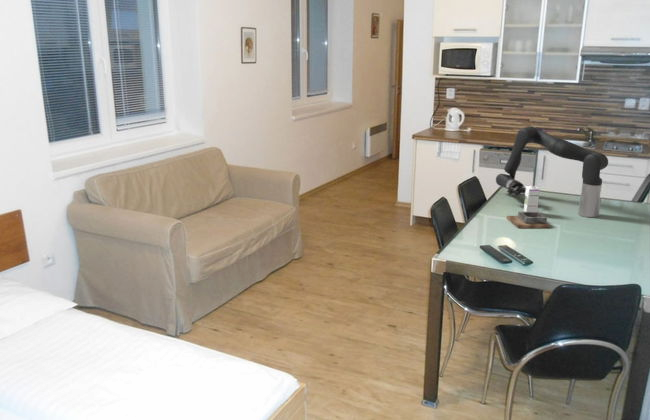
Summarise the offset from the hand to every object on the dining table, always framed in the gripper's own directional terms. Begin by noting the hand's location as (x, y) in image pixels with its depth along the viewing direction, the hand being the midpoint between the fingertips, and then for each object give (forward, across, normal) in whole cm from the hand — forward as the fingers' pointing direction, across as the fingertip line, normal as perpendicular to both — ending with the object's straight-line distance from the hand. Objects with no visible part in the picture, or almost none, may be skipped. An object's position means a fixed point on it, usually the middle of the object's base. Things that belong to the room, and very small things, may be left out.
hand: (525, 194), depth 315 cm
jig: (+26, -8, +8) cm, 28 cm away
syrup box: (+9, 0, +9) cm, 12 cm away
